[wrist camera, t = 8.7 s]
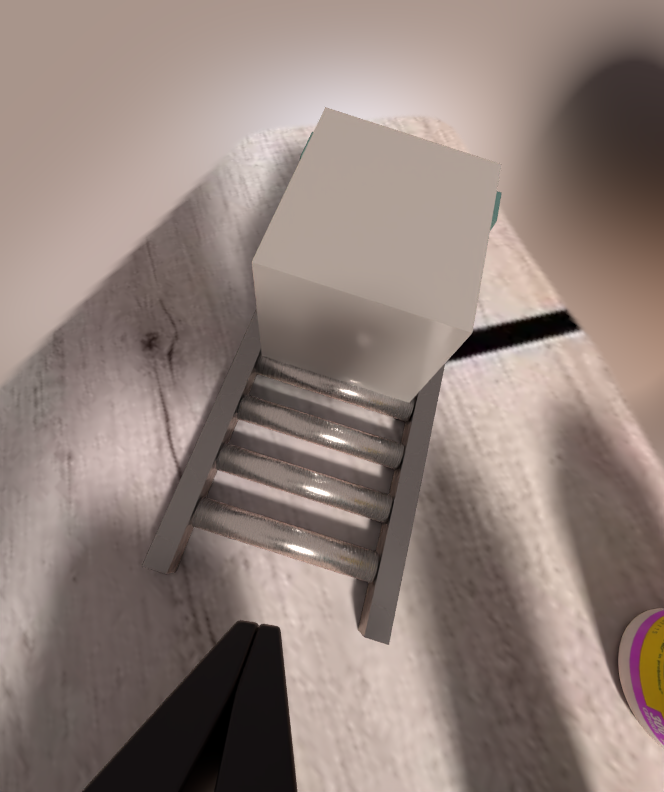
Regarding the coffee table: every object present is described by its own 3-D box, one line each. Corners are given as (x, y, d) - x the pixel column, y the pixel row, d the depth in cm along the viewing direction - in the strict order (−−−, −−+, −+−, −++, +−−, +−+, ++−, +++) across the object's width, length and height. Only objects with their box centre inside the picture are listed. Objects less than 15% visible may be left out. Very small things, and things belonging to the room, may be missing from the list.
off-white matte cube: (409, 402, 22) (472, 332, 15) (262, 355, 22) (251, 261, 15) (439, 272, 26) (501, 164, 19) (313, 231, 26) (325, 107, 19)
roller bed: (459, 260, 29) (501, 192, 23) (380, 636, 19) (420, 675, 14) (306, 211, 29) (312, 131, 23) (152, 564, 19) (99, 573, 14)
